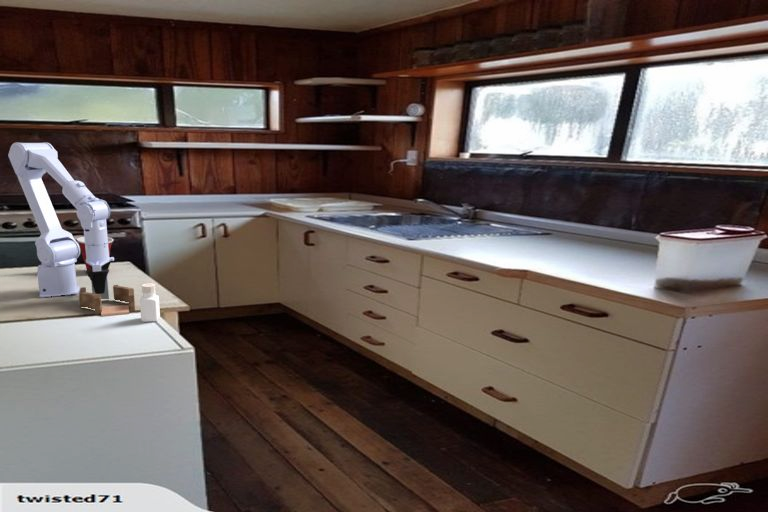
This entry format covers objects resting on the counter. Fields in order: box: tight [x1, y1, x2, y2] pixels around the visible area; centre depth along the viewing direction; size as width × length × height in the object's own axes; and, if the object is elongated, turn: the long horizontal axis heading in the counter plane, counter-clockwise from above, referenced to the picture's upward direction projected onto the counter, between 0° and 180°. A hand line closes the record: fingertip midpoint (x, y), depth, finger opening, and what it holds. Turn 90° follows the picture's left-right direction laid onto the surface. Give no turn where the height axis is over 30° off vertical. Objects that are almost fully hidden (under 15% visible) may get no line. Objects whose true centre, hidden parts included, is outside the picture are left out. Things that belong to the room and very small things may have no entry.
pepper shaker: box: [139, 282, 161, 323], centre depth 133 cm, size 4×4×10 cm
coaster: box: [100, 304, 130, 317], centre depth 139 cm, size 7×6×1 cm
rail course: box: [78, 284, 136, 315], centre depth 142 cm, size 13×12×4 cm
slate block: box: [90, 274, 110, 300], centre depth 148 cm, size 4×4×8 cm
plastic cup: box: [76, 236, 115, 270], centre depth 173 cm, size 11×11×12 cm
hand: (100, 289), depth 148 cm, fingers open, 7 cm apart
